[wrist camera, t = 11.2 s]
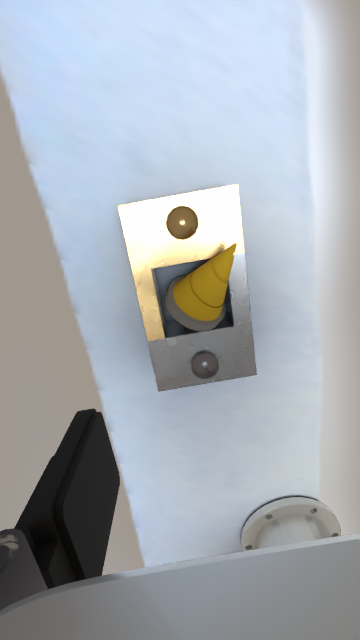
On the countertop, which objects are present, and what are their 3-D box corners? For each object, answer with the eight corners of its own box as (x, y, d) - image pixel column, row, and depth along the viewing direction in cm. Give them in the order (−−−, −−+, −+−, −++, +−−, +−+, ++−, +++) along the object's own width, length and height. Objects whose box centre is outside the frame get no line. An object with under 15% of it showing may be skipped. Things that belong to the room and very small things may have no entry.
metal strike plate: (245, 355, 31) (258, 378, 27) (159, 370, 31) (158, 395, 27) (227, 189, 26) (239, 183, 21) (124, 208, 26) (116, 205, 22)
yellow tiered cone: (153, 296, 29) (198, 209, 22) (203, 308, 31) (259, 231, 24) (153, 343, 26) (206, 259, 19) (209, 352, 28) (276, 279, 20)
